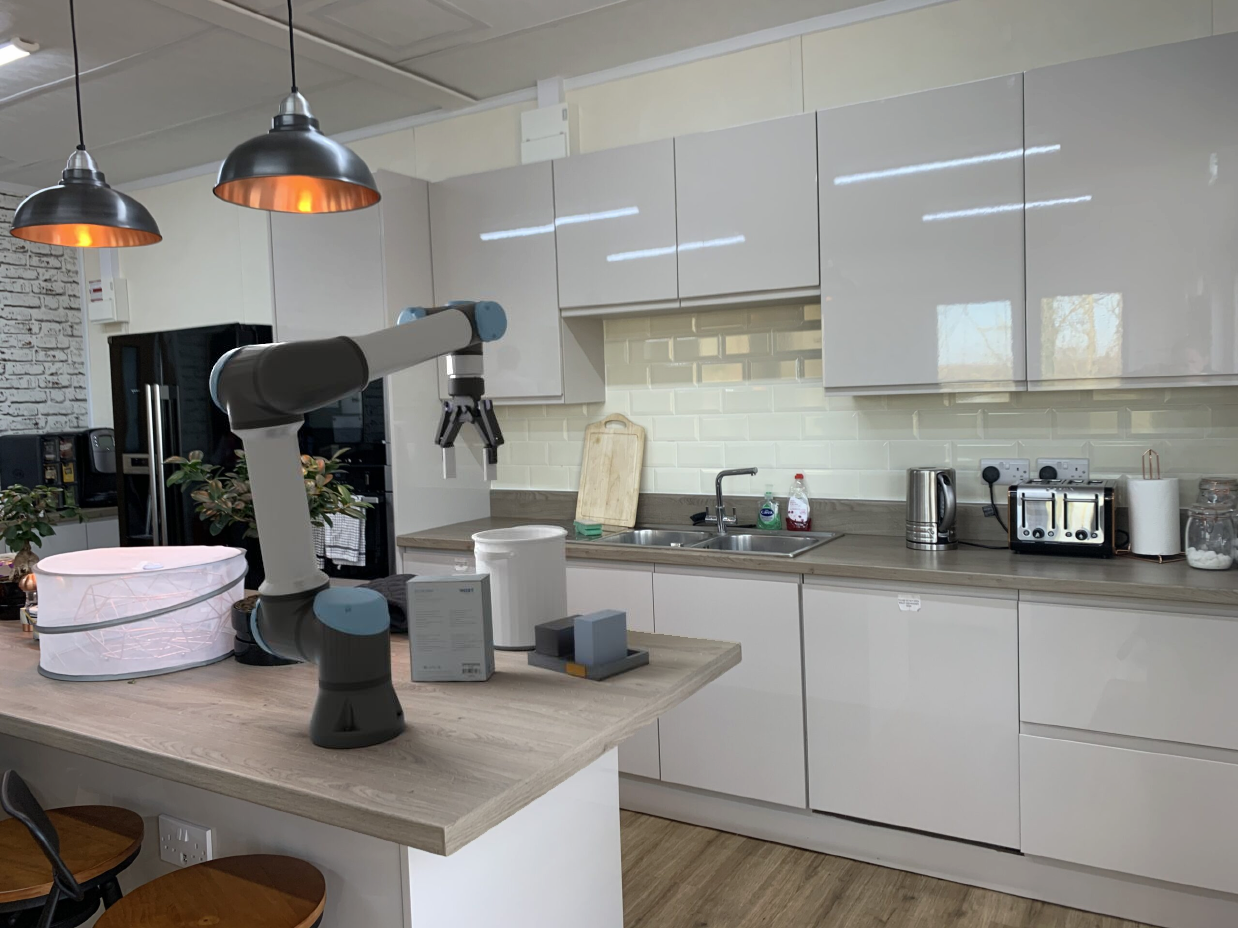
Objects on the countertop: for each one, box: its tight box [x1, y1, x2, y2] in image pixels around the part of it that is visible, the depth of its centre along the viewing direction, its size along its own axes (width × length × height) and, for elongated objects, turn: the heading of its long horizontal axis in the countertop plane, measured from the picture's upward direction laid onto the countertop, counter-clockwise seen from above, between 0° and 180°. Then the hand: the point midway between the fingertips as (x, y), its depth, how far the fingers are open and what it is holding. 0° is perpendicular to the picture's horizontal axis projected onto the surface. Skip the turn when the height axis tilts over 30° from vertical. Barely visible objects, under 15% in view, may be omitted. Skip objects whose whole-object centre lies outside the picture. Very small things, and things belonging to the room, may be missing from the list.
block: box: [574, 608, 628, 666], centre depth 188 cm, size 10×5×10 cm, turn 138°
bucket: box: [471, 526, 569, 651], centre depth 212 cm, size 26×22×24 cm
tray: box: [527, 613, 650, 682], centre depth 191 cm, size 15×20×8 cm
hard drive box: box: [405, 573, 496, 682], centre depth 185 cm, size 16×8×20 cm, turn 84°
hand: (469, 479), depth 195 cm, fingers open, 13 cm apart
